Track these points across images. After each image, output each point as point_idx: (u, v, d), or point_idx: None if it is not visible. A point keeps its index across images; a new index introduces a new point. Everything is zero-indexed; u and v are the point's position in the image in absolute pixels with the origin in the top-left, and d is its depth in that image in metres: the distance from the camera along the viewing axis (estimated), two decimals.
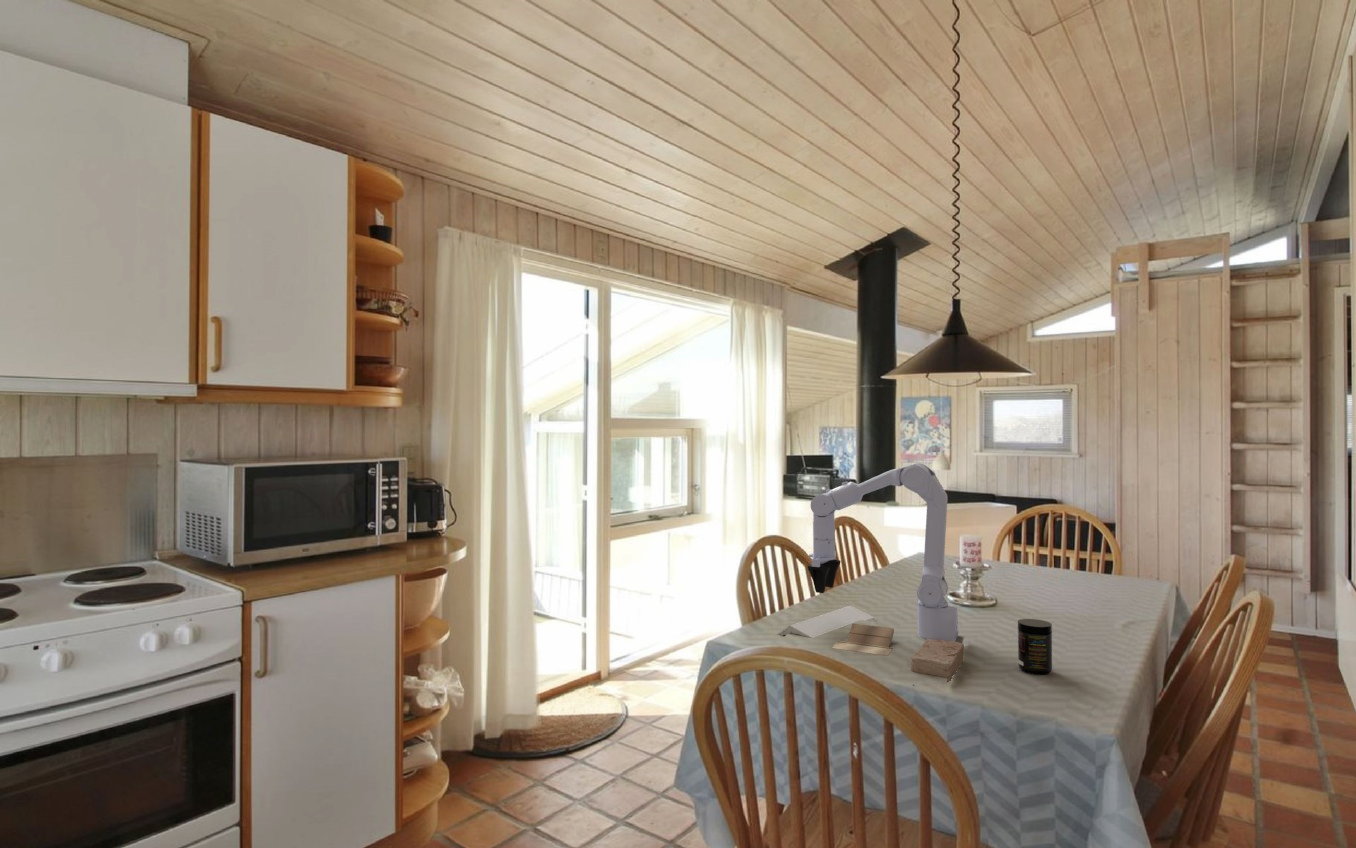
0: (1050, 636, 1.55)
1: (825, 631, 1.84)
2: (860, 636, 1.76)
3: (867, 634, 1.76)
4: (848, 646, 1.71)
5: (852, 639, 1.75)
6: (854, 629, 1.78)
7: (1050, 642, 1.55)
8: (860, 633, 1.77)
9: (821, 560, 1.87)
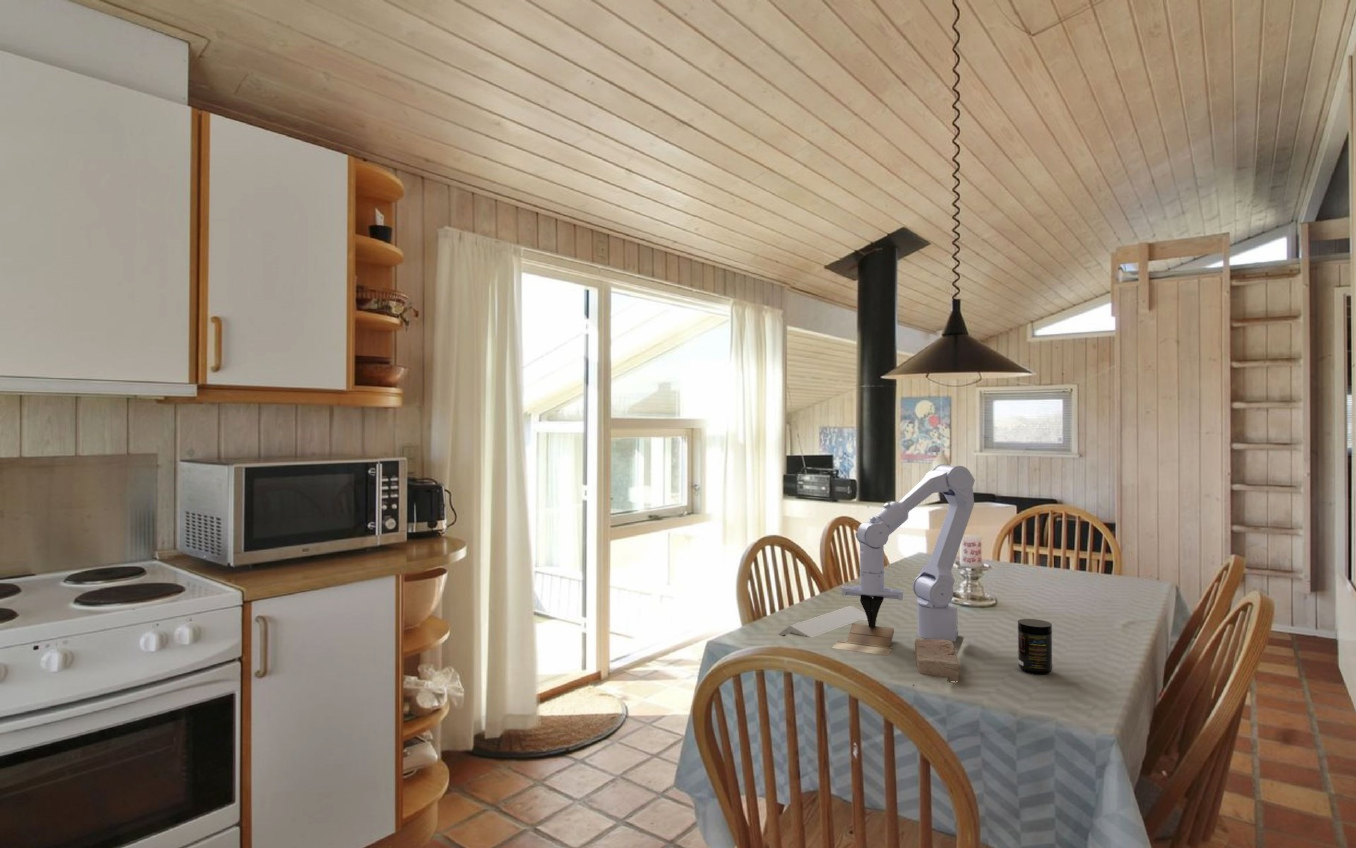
0: (1050, 636, 1.55)
1: (825, 631, 1.84)
2: (860, 636, 1.76)
3: (867, 634, 1.76)
4: (848, 646, 1.71)
5: (852, 639, 1.75)
6: (854, 629, 1.78)
7: (1050, 642, 1.55)
8: (860, 633, 1.77)
9: (847, 589, 1.79)
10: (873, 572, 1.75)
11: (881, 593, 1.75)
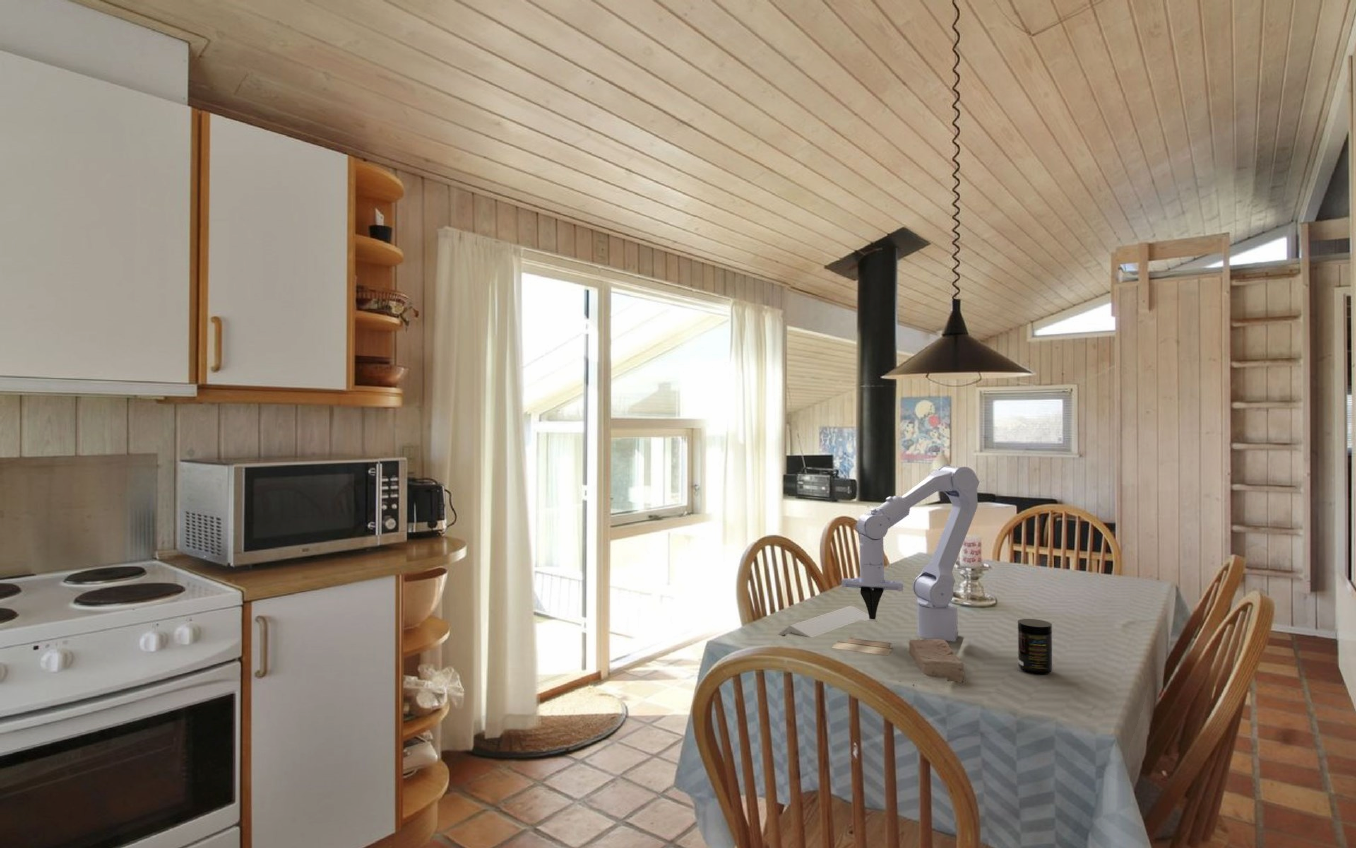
0: (1050, 636, 1.55)
1: (825, 631, 1.84)
2: (861, 640, 1.76)
3: (868, 640, 1.76)
4: (848, 646, 1.71)
5: (852, 641, 1.75)
6: None
7: (1050, 642, 1.55)
8: (860, 639, 1.77)
9: (847, 581, 1.79)
10: (873, 564, 1.75)
11: (881, 584, 1.75)
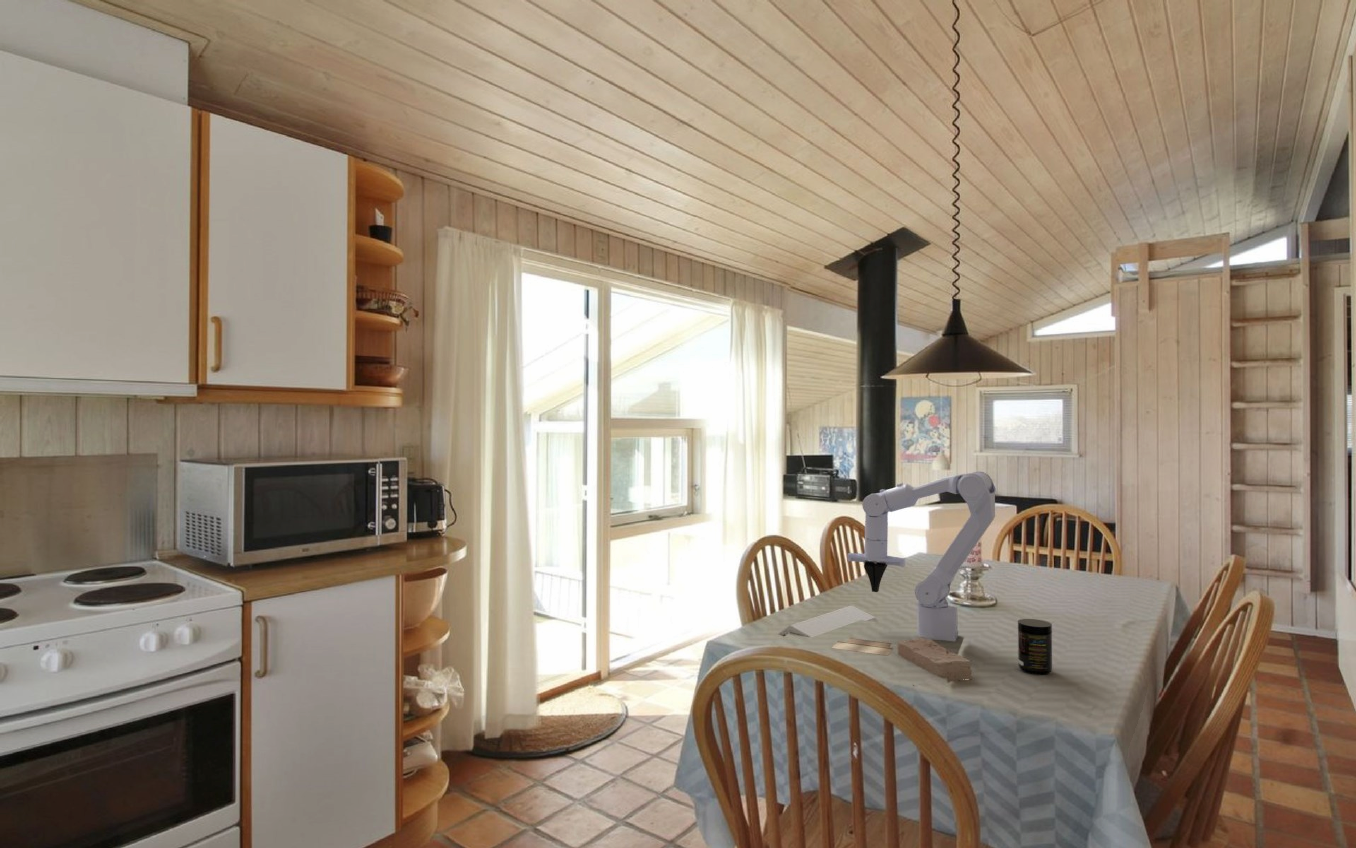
0: (1050, 636, 1.55)
1: (825, 631, 1.84)
2: (861, 640, 1.76)
3: (868, 640, 1.76)
4: (848, 646, 1.71)
5: (852, 641, 1.75)
6: None
7: (1050, 642, 1.55)
8: (860, 639, 1.77)
9: (852, 556, 1.90)
10: (869, 539, 1.87)
11: (883, 559, 1.85)
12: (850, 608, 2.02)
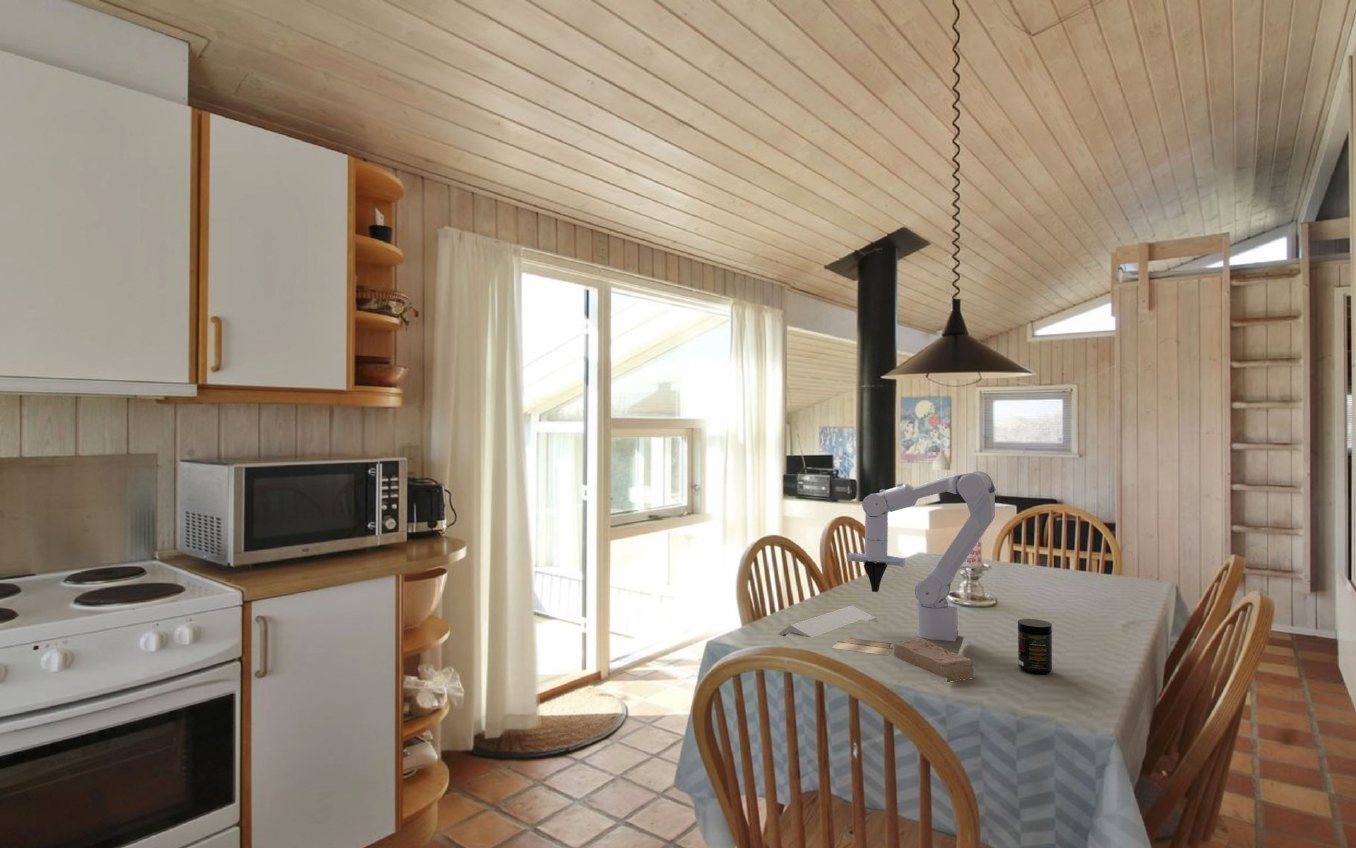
0: (1050, 636, 1.55)
1: (826, 631, 1.84)
2: (861, 640, 1.76)
3: (868, 640, 1.76)
4: (848, 646, 1.71)
5: (852, 641, 1.75)
6: None
7: (1050, 642, 1.55)
8: (860, 639, 1.77)
9: (852, 556, 1.90)
10: (869, 539, 1.87)
11: (883, 559, 1.85)
12: (850, 608, 2.02)
